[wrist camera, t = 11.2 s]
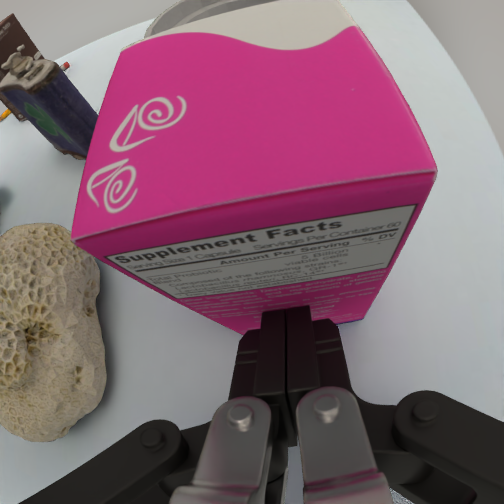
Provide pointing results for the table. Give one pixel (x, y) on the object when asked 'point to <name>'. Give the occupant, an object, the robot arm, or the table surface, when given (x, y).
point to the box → (6, 43)
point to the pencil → (10, 111)
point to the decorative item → (48, 332)
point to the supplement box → (255, 165)
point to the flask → (50, 103)
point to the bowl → (196, 12)
